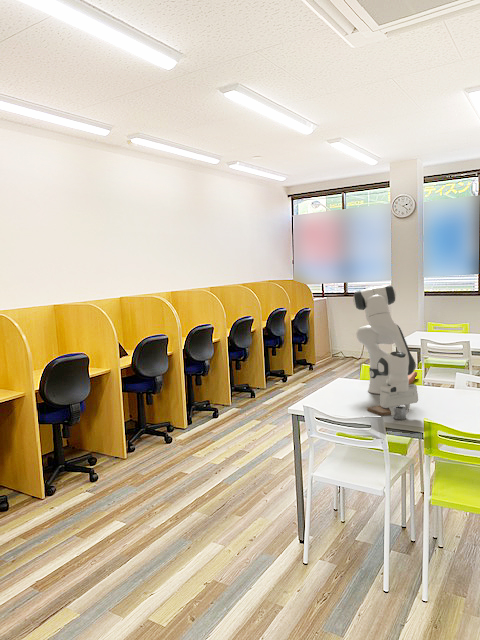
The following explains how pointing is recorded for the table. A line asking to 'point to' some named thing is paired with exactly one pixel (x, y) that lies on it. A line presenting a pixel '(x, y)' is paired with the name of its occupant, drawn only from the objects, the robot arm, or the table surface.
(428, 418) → the table surface
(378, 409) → the stand
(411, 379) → the crank
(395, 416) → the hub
